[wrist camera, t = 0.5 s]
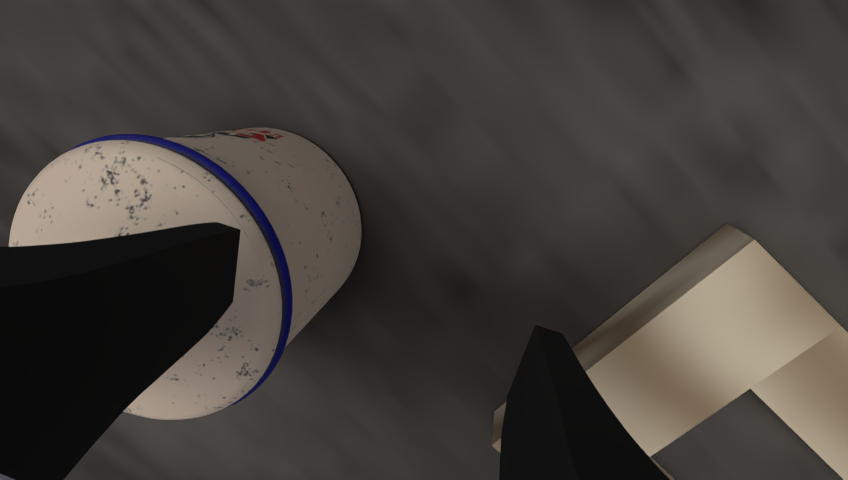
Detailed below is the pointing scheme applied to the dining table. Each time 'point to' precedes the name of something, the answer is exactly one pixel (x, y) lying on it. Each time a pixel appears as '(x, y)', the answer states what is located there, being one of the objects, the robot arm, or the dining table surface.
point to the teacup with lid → (202, 203)
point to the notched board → (720, 351)
